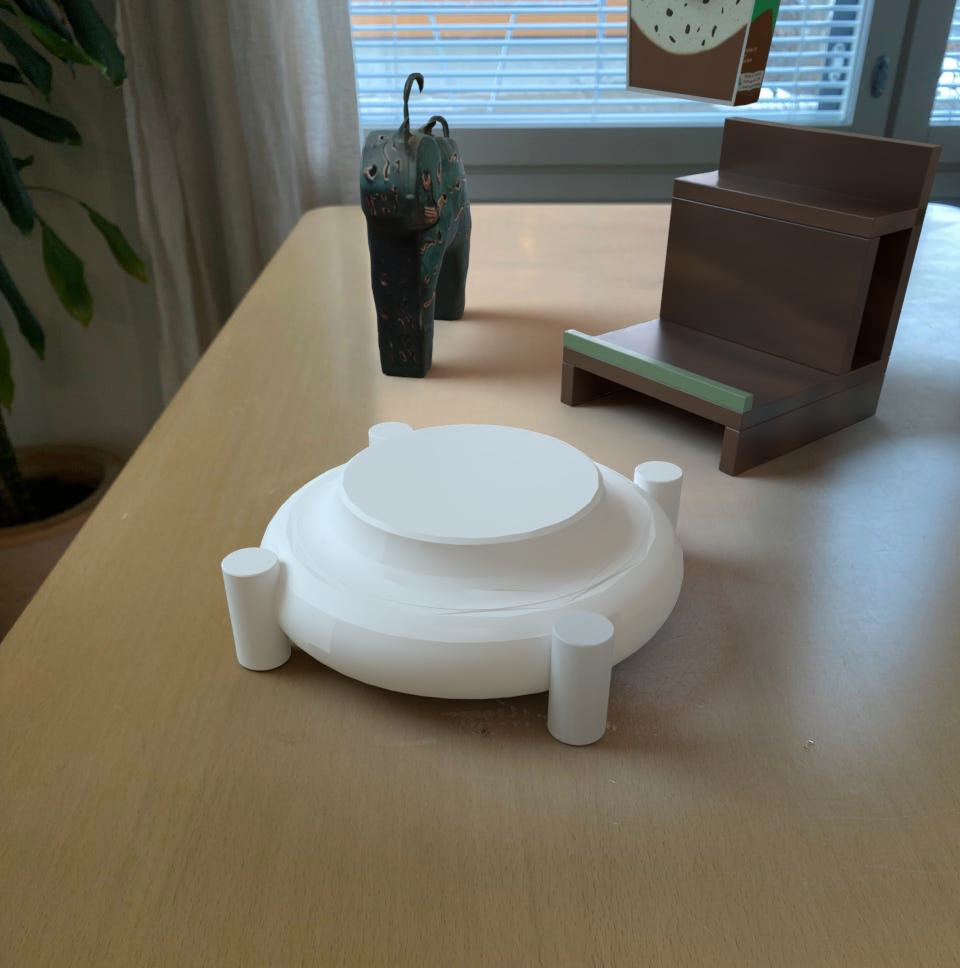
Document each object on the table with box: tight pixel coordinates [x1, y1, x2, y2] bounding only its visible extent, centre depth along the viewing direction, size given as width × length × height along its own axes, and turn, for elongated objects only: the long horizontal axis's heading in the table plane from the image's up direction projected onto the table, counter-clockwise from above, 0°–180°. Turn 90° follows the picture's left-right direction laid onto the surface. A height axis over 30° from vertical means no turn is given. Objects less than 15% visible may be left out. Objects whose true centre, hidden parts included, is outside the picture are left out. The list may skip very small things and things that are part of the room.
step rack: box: [560, 116, 943, 477], centre depth 66 cm, size 16×16×17 cm
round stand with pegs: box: [220, 421, 684, 746], centre depth 48 cm, size 24×24×7 cm
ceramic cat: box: [359, 72, 473, 378], centre depth 77 cm, size 20×6×20 cm, turn 168°
